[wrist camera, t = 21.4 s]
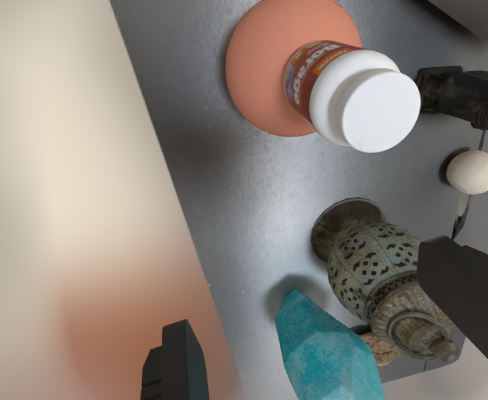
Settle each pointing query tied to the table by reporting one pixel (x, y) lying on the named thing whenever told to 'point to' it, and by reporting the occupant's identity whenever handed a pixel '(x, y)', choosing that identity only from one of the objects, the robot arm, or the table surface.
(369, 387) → the crystal
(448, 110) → the statue
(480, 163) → the cream sphere
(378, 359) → the rock
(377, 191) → the table surface
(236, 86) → the ball
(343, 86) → the pill bottle
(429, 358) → the lantern
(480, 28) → the alarm clock
